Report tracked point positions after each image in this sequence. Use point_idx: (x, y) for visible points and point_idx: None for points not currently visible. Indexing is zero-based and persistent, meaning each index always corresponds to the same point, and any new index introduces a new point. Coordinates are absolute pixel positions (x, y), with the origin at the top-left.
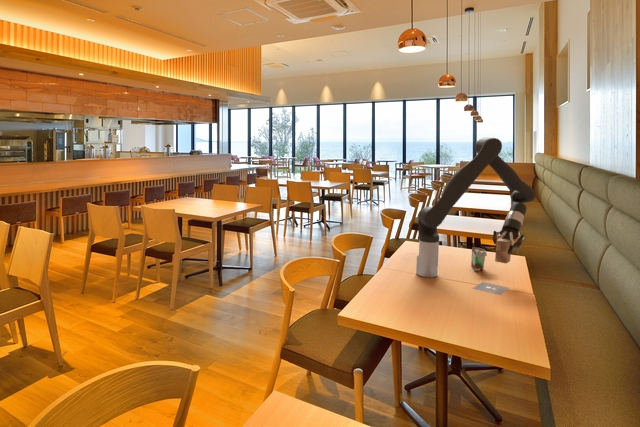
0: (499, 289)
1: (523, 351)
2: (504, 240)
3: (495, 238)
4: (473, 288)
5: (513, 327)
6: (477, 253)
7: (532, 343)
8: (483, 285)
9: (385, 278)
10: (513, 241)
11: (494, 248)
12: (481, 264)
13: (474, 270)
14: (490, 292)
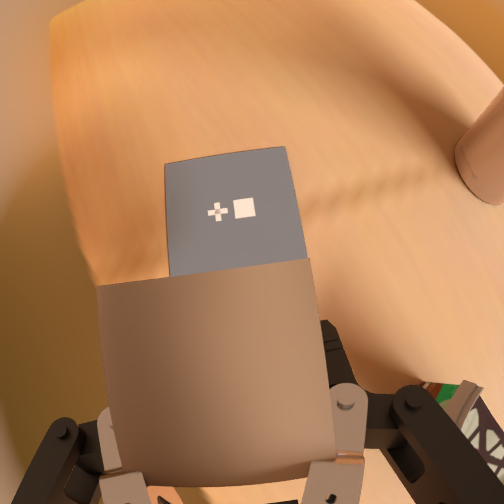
0: (195, 222)
1: (70, 16)
2: (192, 364)
3: (416, 435)
4: (282, 149)
5: (87, 43)
6: (474, 397)
7: (58, 35)
8: (275, 216)
9: (481, 72)
10: (106, 469)
11: (331, 326)
12: None
13: (425, 382)
14: (207, 160)
